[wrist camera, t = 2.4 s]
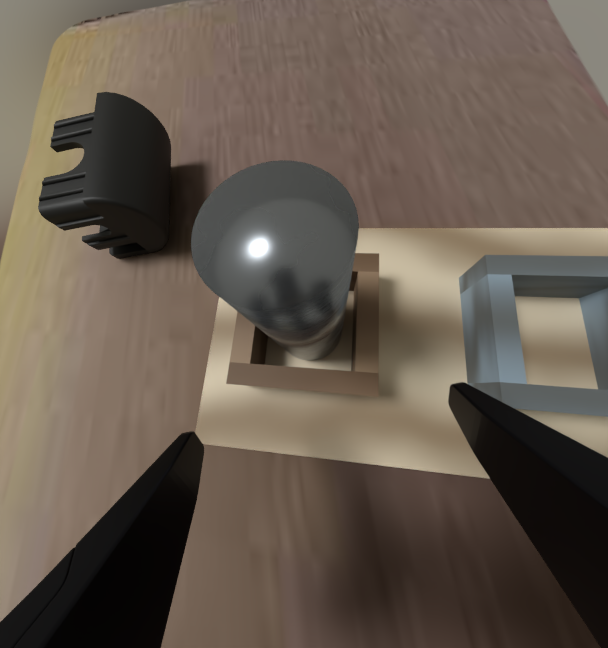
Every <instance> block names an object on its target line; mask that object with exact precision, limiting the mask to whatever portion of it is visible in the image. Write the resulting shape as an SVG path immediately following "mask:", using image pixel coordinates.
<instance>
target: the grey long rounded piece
mask: <svg viewBox="0 0 608 648" xmlns="http://www.w3.org/2000/svg"><path fill="white" fill-rule="evenodd" d="M358 231H359V223H358V215H357V210H356V207H355V204H354V202H353V199H352V198H351V196H350V194H349V192H348V191H347V190H346V188H345V187H344V186H343V185H342V184H341V183H340V182H339V181H338V180H337V179H336V178H335V177H334V176H332V175H331V174H329V173H328V172H326V171H324V170H323V169H321V168H319V167H316V166H313V165H311V164H307V163H303V162H297V161H271V162H266V163H261V164H257V165H254V166H251V167H248V168H246V169H244V170H241V171H240V172H238V173H236V174H234V175H232V176H231V177H229V178H228V179H227V180H225V181H224V182H223V183H221V184H220V185H219V186H218V187H217V188H216V189H215V190H214V191H213V192H212V193H211V194H210V195H209V197H208V198H207V199H206V201H205V202H204V203H203V205H202V207H201V209H200V210H199V212H198V215H197V217H196V219H195V222H194V226H193V230H192V236H191V251H192V258H193V261H194V264H195V267H196V269H197V271H198V274H199V275H200V277H201V278H202V280H203V281H204V283H205V284H206V285H207V286H208V287H209V288H210V289H211V290H212V291H213V292H214V293H215V294H217V295H218V296H219V297H220V298H222V299H223V300H224V301H225V302H227V303H228V304H229V305H230V306H232V307H233V308H234V309H235V310H236V311H238V312H239V313H240V314H241V315H243V316H244V317H245V318H246V319H248V320H249V321H250V322H251V323H253V324H254V325H255V326H256V327H258V328H259V329H260V330H261V331H263V332H264V333H265V334H266V335H267V336H269V337H270V338H271V339H272V340H274V341H275V342H276V343H277V344H279V345H280V346H281V347H282V348H284V349H285V350H286V351H287V352H289V353H290V354H291V355H292V356H294V357H296V358H298V359H302V360H307V361H312V360H318V359H321V358H324V357H326V356H327V355H329V354H330V353H331V352H332V351H333V350H334V349H335V348H336V347H337V345H338V343H339V341H340V339H341V335H342V329H343V323H344V317H345V311H346V305H347V300H348V294H349V288H350V282H351V276H352V270H353V264H354V258H355V252H356V246H357V240H358Z"/></svg>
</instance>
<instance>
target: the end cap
mask: <svg viewBox="0 0 608 648" xmlns="http://www.w3.org/2000/svg"><path fill="white" fill-rule="evenodd" d="M51 141H52V142H51V146H50V147H51V148H53V149H54V150H55V151H56V152H61V151H65V150H69V149H74V148H83V149H84V157H83V159H82V161H81V162H80V164H79V165H78V166H77V167H75V168H74V169H73V170H71V171H69V172H67V173H64V174H60V175H55V176H51V177H46V178H44V181H42V185H43V186H42V191H41V196H40V197H39V206H38V209H39V212H40V213H41V215H42V216H43V217H44V218H45V219H46V220H48V221H49V222H51V223H53V224H55V225H56V226H57V227H59V228H60V229H63V230H70V229H75V228H80V227H85V226H90V225H100V232H99V233H97V234H92V235H87V236H82V241H83V242H85V243H87V244H88V245H89V246H91V247H93V248H95V249H97V250H101V249H106V248H110V249H109V252H110V254H111V255H112V256H114V257H116V258H120V259H121V258H126V257H131V256H137V255H142V254H148V253H153V252H156V251H159V250H161V249H162V248H163V246H164V245H165V244H166V243H167V241H168V237H169V207H170V169H171V144H170V139H169V136H168V134H167V132H166V130H165V128H164V126H163V125H162V124H161V122H160V121H159V120H158V119H157V118H156V117H155V116H154V114H153V113H152V112H150V111H149V110H148V109H147V108H145V107H144V106H143V105H141V104H140V103H138V102H136V101H135V100H133V99H131V98H128V97H126V96H124V95H120V94H117V93H110V92H102V93H97V98H96V105H95V112H93V113H89V114H85V115H80V116H76V117H72V118H68V119H63V120H59V121H56V122H55V124H54V132H53V137H51Z"/></svg>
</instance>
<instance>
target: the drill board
mask: <svg viewBox="0 0 608 648" xmlns="http://www.w3.org/2000/svg"><path fill="white" fill-rule="evenodd" d="M460 382H464V383H467V384H469V385H471V386H473V387H475V388H477V389H478V390H480V391H482V392H484V393H486V394H488V395H490V396H492V397H494V398H496V399H497V400H499V401H501V402H503V403H505V404H507V405H509V406H511V407H513V408H515V409H516V410H518V411H520V412H522V413H524V414H526V415H528V416H530V417H532V418H534V419H535V420H537V421H539V422H541V423H543V424H545V425H547V426H549V427H551V428H553V429H554V430H556V431H558V432H560V433H562V434H564V435H566V436H568V437H570V438H572V439H573V440H575V441H577V442H579V443H581V444H583V445H585V446H587V447H589V448H591V449H592V450H594V451H596V452H598V453H600V454H602V455H604V456H606V457H608V228H359V231H358V240H357V246H356V252H355V258H354V264H353V270H352V276H351V282H350V288H349V294H348V300H347V305H346V311H345V317H344V323H343V329H342V335H341V339H340V341H339V343H338V345H337V347H336V348H335V349H334V350H333V351H332V352H331V353H330V354H329V355H327V356H326V357H324V358H321V359H318V360H312V361H307V360H302V359H298V358H296V357H294V356H292V355H291V354H290V353H289V352H287V351H286V350H285V349H284V348H282V347H281V346H280V345H279V344H277V343H276V342H275V341H274V340H272V339H271V338H270V337H269V336H267V335H266V334H265V333H264V332H263V331H261V330H260V329H259V328H258V327H256V326H255V325H254V324H253V323H251V322H250V321H249V320H248V319H246V318H245V317H244V316H243V315H241V314H240V313H239V312H238V311H236V310H235V309H234V308H233V307H232V306H230V305H229V304H228V303H227V302H225V301H224V300H223V299H222V298H220V297H219V302H218V308H217V313H216V319H215V325H214V330H213V336H212V341H211V347H210V353H209V358H208V364H207V370H206V375H205V381H204V387H203V392H202V398H201V403H200V409H199V415H198V420H197V426H196V432H195V433H196V435H197V436H198V438H199V439H200V441H201V442H202V444H208V445H216V446H224V447H233V448H241V449H249V450H257V451H266V452H274V453H282V454H290V455H299V456H307V457H315V458H323V459H332V460H340V461H348V462H356V463H365V464H373V465H381V466H389V467H398V468H406V469H414V470H422V471H431V472H439V473H447V474H455V475H464V476H472V477H480V478H488V479H490V478H489V476H488V474H487V473H486V471H485V470H484V468H483V467H482V465H481V464H480V462H479V461H478V459H477V458H476V456H475V454H474V453H473V451H472V449H471V447H470V446H469V444H468V442H467V440H466V438H465V436H464V434H463V432H462V430H461V428H460V426H459V425H458V423H457V421H456V419H455V417H454V415H453V413H452V411H451V409H450V407H449V404H448V398H449V389H450V385H451V384H454V383H460Z"/></svg>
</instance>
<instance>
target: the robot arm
mask: <svg viewBox="0 0 608 648" xmlns="http://www.w3.org/2000/svg"><path fill="white" fill-rule="evenodd" d="M448 404H449V407H450V409H451V411H452V413H453V415H454V417H455V419H456V421H457V423H458V425H459V426H460V428H461V430H462V432H463V434H464V436H465V438H466V440H467V442H468V444H469V446H470V447H471V449H472V451H473V453H474V454H475V456H476V458H477V459H478V461H479V462H480V464H481V465H482V467H483V468H484V470H485V471H486V473H487V474H488V476H489V478H490V479H491V481H492V482H493V484H494V485H495V487H496V488H497V490H498V491H499V493H500V494H501V496H502V497H503V499H504V500H505V502H506V503H507V505H508V506H509V508H510V510H511V511H512V513H513V514H514V516H515V517H516V519H517V520H518V522H519V523H520V525H521V526H522V528H523V529H524V531H525V532H526V534H527V535H528V537H529V539H530V540H531V542H532V543H533V545H534V546H535V548H536V549H537V551H538V552H539V554H540V555H541V557H542V558H543V560H544V561H545V563H546V564H547V566H548V568H549V569H550V571H551V572H552V574H553V575H554V577H555V578H556V580H557V581H558V583H559V584H560V586H561V587H562V589H563V590H564V592H565V593H566V595H567V596H568V598H569V600H570V601H571V603H572V604H573V606H574V607H575V609H576V610H577V612H578V613H579V615H580V616H581V618H582V619H583V621H584V622H585V624H586V625H587V627H588V629H589V630H590V632H591V633H592V635H593V636H594V638H595V639H596V641H597V642H598V644H599V645H600V647H601V648H608V457H606V456H604V455H602V454H600V453H598V452H596V451H594V450H592V449H591V448H589V447H587V446H585V445H583V444H581V443H579V442H577V441H575V440H573V439H572V438H570V437H568V436H566V435H564V434H562V433H560V432H558V431H556V430H554V429H553V428H551V427H549V426H547V425H545V424H543V423H541V422H539V421H537V420H535V419H534V418H532V417H530V416H528V415H526V414H524V413H522V412H520V411H518V410H516V409H515V408H513V407H511V406H509V405H507V404H505V403H503V402H501V401H499V400H497V399H496V398H494V397H492V396H490V395H488V394H486V393H484V392H482V391H480V390H478V389H477V388H475V387H473V386H471V385H469V384H467V383H464V382H460V383H454V384H451V385H450V389H449V398H448ZM203 456H204V446H203V444H202V442H201V441H200V439H199V438H198V436H197V435H196V433H195V432H193V431H191V432H185V433H182V434H181V435H180V436H179V437H178V438H177V439H176V440H175V441H174V442H173V443H172V444H171V445H170V446H169V447H168V448H167V449H166V450H165V451H164V452H163V453H162V455H161V456H160V457H159V458H158V459H157V460H156V461H155V462H154V463H153V464H152V465H151V466H150V467H149V468H148V469H147V470H146V471H145V473H144V474H143V475H142V476H141V477H140V478H139V479H138V480H137V481H136V482H135V483H134V484H133V485H132V486H131V487H130V488H129V489H128V491H127V492H126V493H125V494H124V495H123V496H122V497H121V498H120V499H119V500H118V501H117V502H116V503H115V504H114V505H113V506H112V507H111V509H110V510H109V511H108V512H107V513H106V514H105V515H104V516H103V517H102V518H101V519H100V520H99V521H98V522H97V523H96V524H95V525H94V527H93V528H92V529H91V530H90V531H89V532H88V533H87V534H86V535H85V536H84V537H83V538H82V539H81V540H80V541H79V542H78V543H77V545H76V547H75V548H73V549H72V550H71V551H70V552H69V553H68V554H67V555H66V556H65V557H64V558H63V559H62V560H61V561H60V562H59V563H58V564H57V566H56V567H55V568H54V569H53V570H52V571H51V572H50V573H49V574H48V575H47V576H46V577H45V578H44V579H43V580H42V581H41V582H40V583H39V584H38V585H37V586H36V587H35V588H34V589H33V590H32V591H31V592H30V593H29V594H28V595H27V596H26V597H25V598H24V599H23V600H22V601H21V602H20V603H19V604H18V605H17V606H16V607H15V608H14V609H13V610H12V611H11V612H10V613H9V614H8V615H7V616H6V617H5V618H4V619H3V620H2V621H1V622H0V648H161V644H162V640H163V636H164V632H165V628H166V623H167V619H168V615H169V611H170V607H171V603H172V599H173V595H174V591H175V587H176V583H177V578H178V574H179V570H180V566H181V562H182V558H183V554H184V550H185V546H186V542H187V538H188V534H189V529H190V525H191V521H192V517H193V513H194V509H195V505H196V500H197V495H198V489H199V483H200V476H201V469H202V462H203Z"/></svg>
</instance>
